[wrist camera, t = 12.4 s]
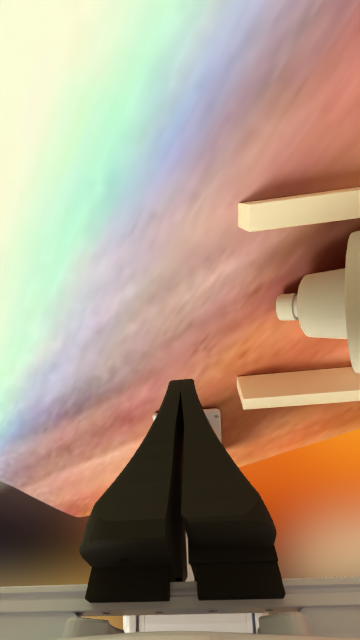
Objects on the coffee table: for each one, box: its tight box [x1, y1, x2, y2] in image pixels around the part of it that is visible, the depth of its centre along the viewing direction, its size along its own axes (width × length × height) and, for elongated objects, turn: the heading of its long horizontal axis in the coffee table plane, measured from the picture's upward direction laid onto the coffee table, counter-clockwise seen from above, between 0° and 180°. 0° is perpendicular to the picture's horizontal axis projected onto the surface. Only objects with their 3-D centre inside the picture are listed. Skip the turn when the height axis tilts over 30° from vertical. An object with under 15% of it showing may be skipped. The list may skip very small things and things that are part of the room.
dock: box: [237, 187, 360, 410], centre depth 18 cm, size 18×14×3 cm
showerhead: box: [276, 231, 360, 373], centre depth 16 cm, size 9×7×10 cm
